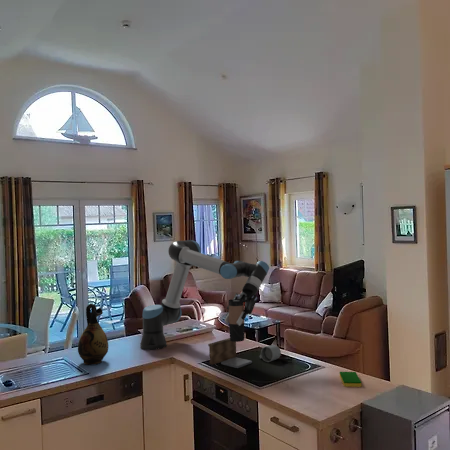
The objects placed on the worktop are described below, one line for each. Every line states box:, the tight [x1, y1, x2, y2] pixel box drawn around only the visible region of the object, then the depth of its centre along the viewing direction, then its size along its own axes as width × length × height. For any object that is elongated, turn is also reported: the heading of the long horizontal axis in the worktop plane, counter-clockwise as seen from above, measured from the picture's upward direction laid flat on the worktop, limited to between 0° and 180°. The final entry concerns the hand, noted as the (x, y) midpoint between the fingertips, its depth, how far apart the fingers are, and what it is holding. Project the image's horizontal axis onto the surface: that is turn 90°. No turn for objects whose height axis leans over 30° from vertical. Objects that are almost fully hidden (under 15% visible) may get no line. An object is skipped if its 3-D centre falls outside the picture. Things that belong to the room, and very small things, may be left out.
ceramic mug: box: [259, 344, 282, 363], centre depth 231 cm, size 11×8×8 cm
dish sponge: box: [339, 371, 362, 388], centre depth 195 cm, size 7×14×2 cm, turn 174°
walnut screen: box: [208, 337, 237, 366], centre depth 231 cm, size 19×3×10 cm, turn 137°
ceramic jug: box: [77, 303, 109, 366], centre depth 234 cm, size 17×15×30 cm
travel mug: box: [228, 298, 245, 343], centre depth 225 cm, size 8×8×20 cm
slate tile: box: [220, 356, 253, 369], centre depth 225 cm, size 11×11×1 cm
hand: (232, 323), depth 223 cm, fingers closed on travel mug, 7 cm apart
